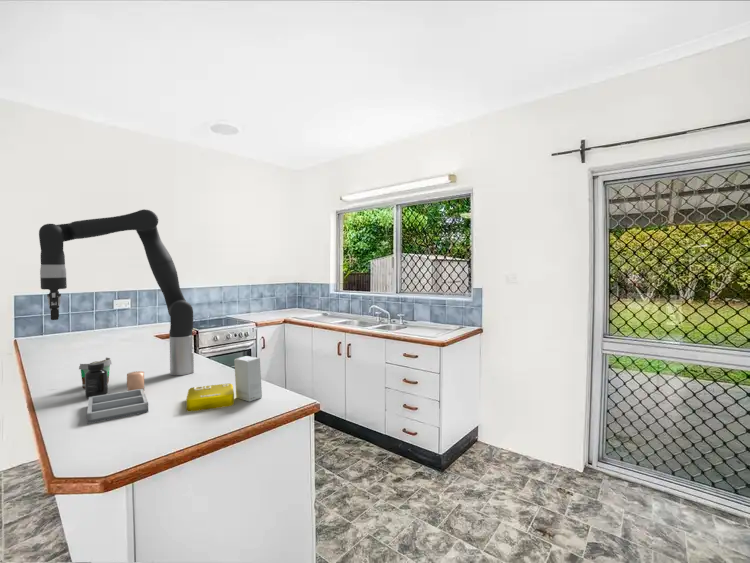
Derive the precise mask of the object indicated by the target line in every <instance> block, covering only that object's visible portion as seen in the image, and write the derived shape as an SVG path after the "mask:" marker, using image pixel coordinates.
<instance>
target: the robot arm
mask: <svg viewBox="0 0 750 563" xmlns="http://www.w3.org/2000/svg"><path fill="white" fill-rule="evenodd" d="M158 224H159V218H158V215H157V214H156V213H155V212H153V211H152V210H150V209H139V210H137V211H135V212H134V211H133V212H130V213H126V214H122V215H117V216H116V215H115V216H111V217H99V218H91V219H83V220H75V221H71V222H69V223H61V224H59V223H58V224H54V223H46V224H43V225H42V226H41V227H40V228H39V230H38V239H39V245H40V246H39V247H40V269H39V275H40V276H39V278H40V280H39V281H40V289H41V290H48V291H49V293H47V294H46V298H47V302H48V303H47V304H48V307H49V311H50V320H51V321H57V320H59V318H60V305H61V299H62V293H60V292H59V290H65V289H67V284H68V283H67V269H66V260H65V259H66V258H65V257H66V256H65V252H64V242H68V241H73V240H80V239H82V240H83V239H88V238H89V239H90V238H95V237H100V236H101V237H102V236H106V235H110V234H114V233H119V232H125V231H135V232H136V233H137V235H138V237H139V239H140V241H141V243H142V245H143V249H144V252H145V255H146V258H147V261H148V264H149V268H150V270H151V273H152V274H153V277H154V278H155V281H156V283H157V285H158V287H159V289H160V291H161V292H162V294H163V297H164V298H163V299H164V300H165V303H166V308H167V312H168V315H169V317H170V318H169V319H170V320H169V321H170V322H169V323H170V328H169V375H170V376H185V375H189V374H193V373H195V369H194V368H195V366H194V365H195V363H194V361H195V360H194V358H195V357H194V355H195V354H194V352H193V330H194V308H193V306H192V304H191V303H189V301H186V299H185V297H184V294H183V293H182V290H181V288H180V281H179V276H178V271H177V267H176V266H175V263H174V260H173V257H172V256H171V255H170V252H169V251H168V249H167V248H166V246H165V244H164V243H163V241H162V239H161V236H160V234H159V231H158V227H157V226H158Z"/></svg>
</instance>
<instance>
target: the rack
mask: <svg viewBox="0 0 750 563" xmlns="http://www.w3.org/2000/svg"><path fill="white" fill-rule="evenodd" d="M87 401H88V403H87V411H86V413H87V414H86V416H87V417H86V419H87V421H86V422H87V423H86V424H87V425H89V424H92V423H94V424H95V423H97V422H105V421H109V420H114V419H119V418H124V417H129V416H134V415H139V414H144V413H149V401H148V399H147V396H146V393H145V388H144V389H137V390H130V391H127V390H125V391H119V392H112V393H107V394H106V395H99V396H93V397H89V398H88V400H87Z"/></svg>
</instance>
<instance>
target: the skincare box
mask: <svg viewBox="0 0 750 563" xmlns="http://www.w3.org/2000/svg"><path fill="white" fill-rule="evenodd" d="M233 364H234V380H235V398H236V399H240V400H243V401H246V402H253V401H255V400H258V399H261V398H263V397H262V396H263V391H262V388H263V387H262V376H261V374H262V373H261V372H262V371H261V358H260V357H255V356H249V355H246V356H240V357H237V358H235V359H234V362H233Z"/></svg>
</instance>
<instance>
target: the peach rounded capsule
mask: <svg viewBox="0 0 750 563" xmlns="http://www.w3.org/2000/svg"><path fill="white" fill-rule="evenodd" d="M137 389H144V390H145V371H142V370H140V371H131V372H128V373H126V391H130V390H137Z"/></svg>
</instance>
